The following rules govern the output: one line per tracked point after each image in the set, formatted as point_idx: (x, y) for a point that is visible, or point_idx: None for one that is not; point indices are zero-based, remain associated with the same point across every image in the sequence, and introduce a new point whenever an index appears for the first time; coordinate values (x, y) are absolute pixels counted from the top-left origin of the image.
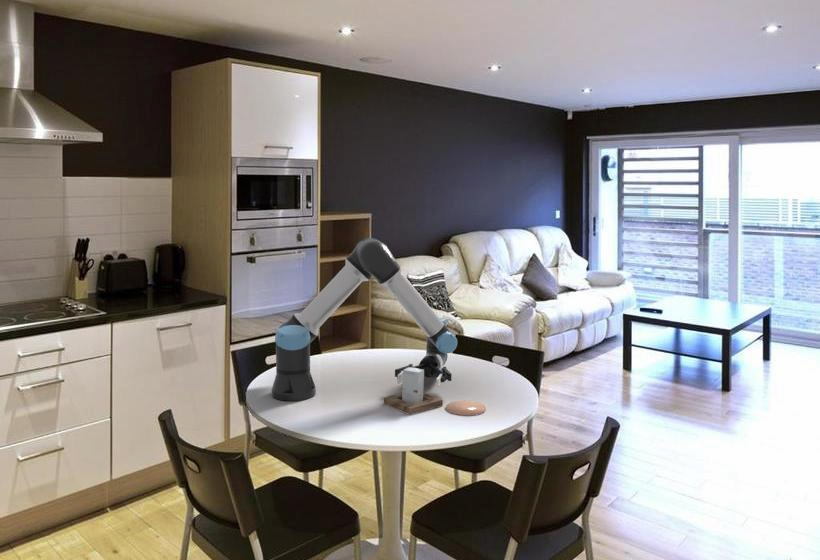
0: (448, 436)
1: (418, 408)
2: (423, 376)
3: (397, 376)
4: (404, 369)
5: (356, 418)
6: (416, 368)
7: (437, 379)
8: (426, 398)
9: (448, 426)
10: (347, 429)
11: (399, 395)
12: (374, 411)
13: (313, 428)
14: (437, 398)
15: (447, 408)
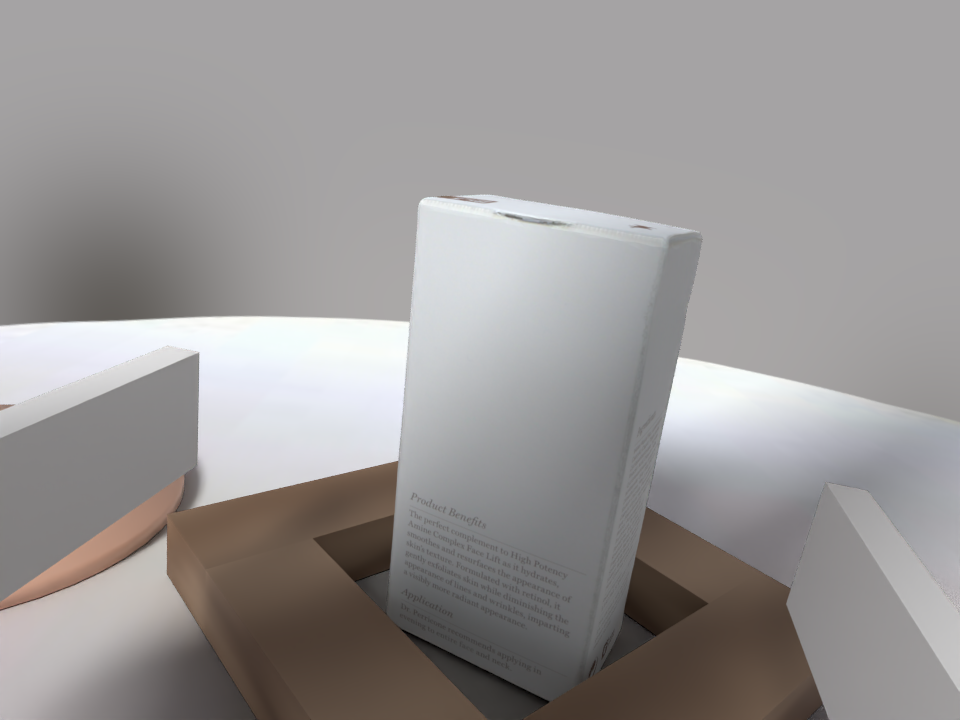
0: (322, 331)
1: None
2: (418, 289)
3: (861, 496)
4: (691, 230)
5: (833, 479)
6: (533, 211)
7: (185, 356)
8: (343, 574)
9: (287, 368)
10: (783, 412)
11: (707, 673)
12: (795, 542)
13: (943, 435)
14: (209, 548)
15: (178, 478)
